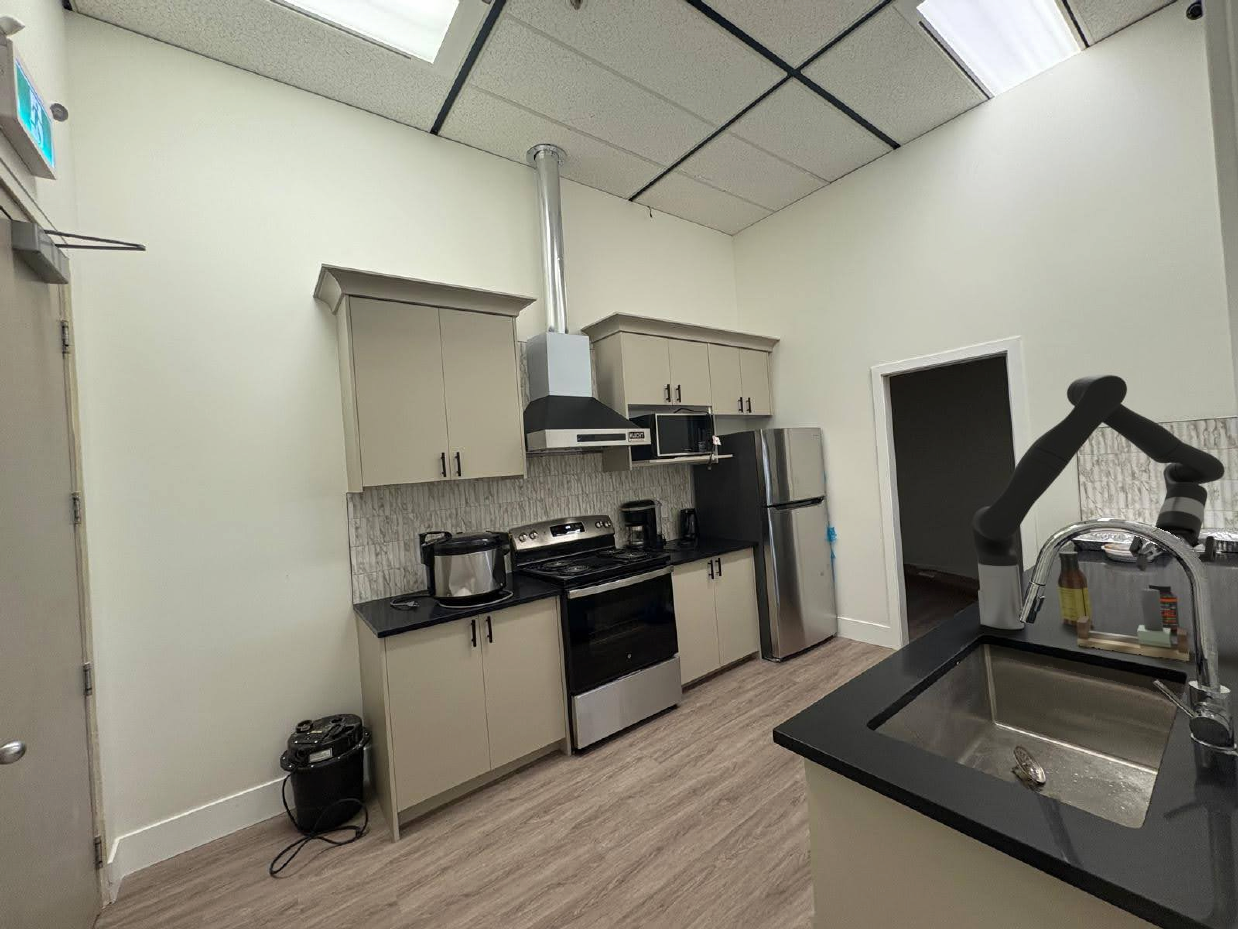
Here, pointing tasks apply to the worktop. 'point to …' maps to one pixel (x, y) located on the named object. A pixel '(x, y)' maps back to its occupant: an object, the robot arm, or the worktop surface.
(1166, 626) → the supplement bottle
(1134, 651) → the rail board
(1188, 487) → the robot arm
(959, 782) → the worktop surface
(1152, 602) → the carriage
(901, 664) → the worktop surface
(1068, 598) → the sauce bottle
